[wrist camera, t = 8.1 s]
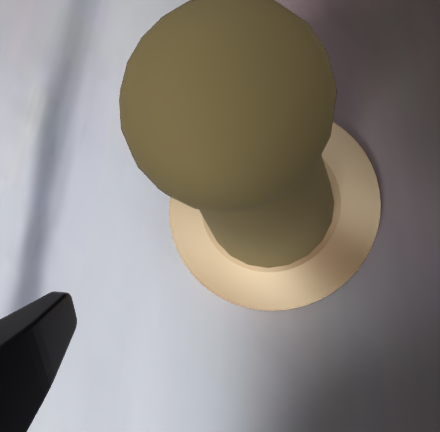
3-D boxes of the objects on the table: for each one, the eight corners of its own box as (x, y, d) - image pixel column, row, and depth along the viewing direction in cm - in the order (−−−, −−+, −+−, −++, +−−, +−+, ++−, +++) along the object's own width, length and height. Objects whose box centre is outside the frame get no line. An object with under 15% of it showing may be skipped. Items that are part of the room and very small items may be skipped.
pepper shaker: (281, 121, 19) (243, -105, 9) (363, 215, 17) (440, 71, 7) (184, 193, 19) (33, 60, 9) (253, 294, 17) (164, 273, 7)
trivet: (324, 351, 17) (324, 352, 16) (139, 254, 20) (135, 252, 19) (413, 151, 18) (416, 146, 17) (225, 88, 21) (223, 82, 20)
